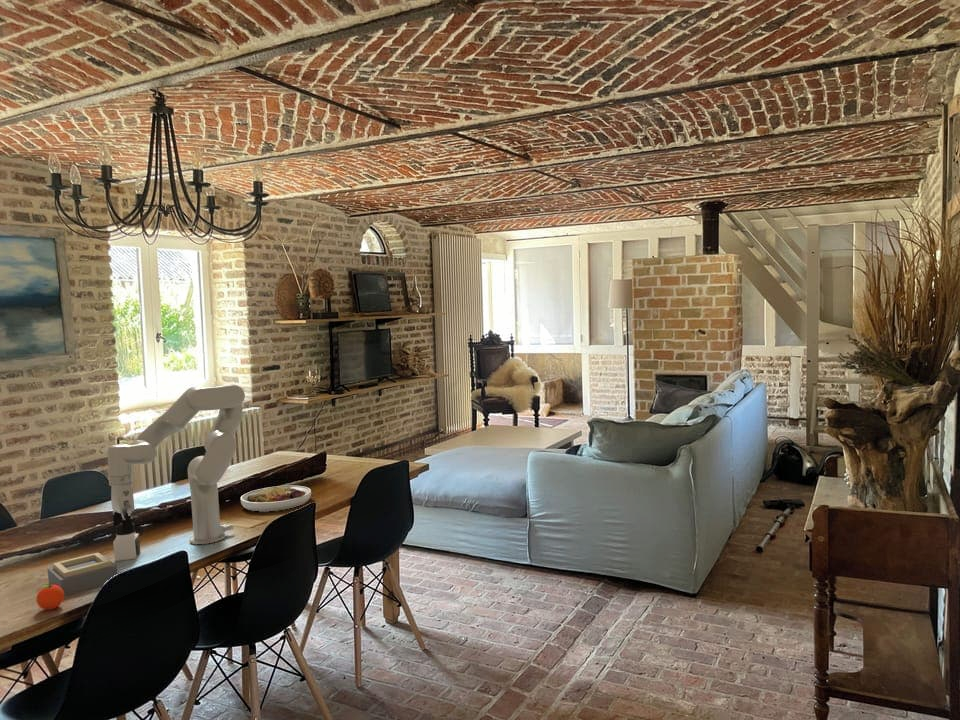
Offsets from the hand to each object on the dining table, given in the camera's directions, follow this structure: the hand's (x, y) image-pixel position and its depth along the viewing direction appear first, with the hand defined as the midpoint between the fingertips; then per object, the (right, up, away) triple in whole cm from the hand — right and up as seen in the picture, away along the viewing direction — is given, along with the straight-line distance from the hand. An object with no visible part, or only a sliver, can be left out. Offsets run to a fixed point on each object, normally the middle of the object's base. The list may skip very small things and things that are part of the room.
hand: (122, 527), depth 248 cm
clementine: (0, -14, -43) cm, 45 cm away
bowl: (+36, -5, +65) cm, 74 cm away
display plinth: (-1, -12, -22) cm, 25 cm away
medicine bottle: (+1, -11, +1) cm, 11 cm away
